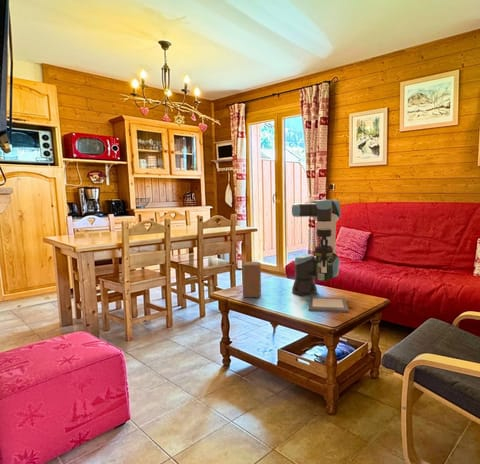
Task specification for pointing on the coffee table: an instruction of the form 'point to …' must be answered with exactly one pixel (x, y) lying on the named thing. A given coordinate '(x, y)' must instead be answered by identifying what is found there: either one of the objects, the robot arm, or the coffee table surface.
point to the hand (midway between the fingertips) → (324, 270)
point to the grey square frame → (328, 304)
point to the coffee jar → (329, 255)
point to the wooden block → (251, 279)
